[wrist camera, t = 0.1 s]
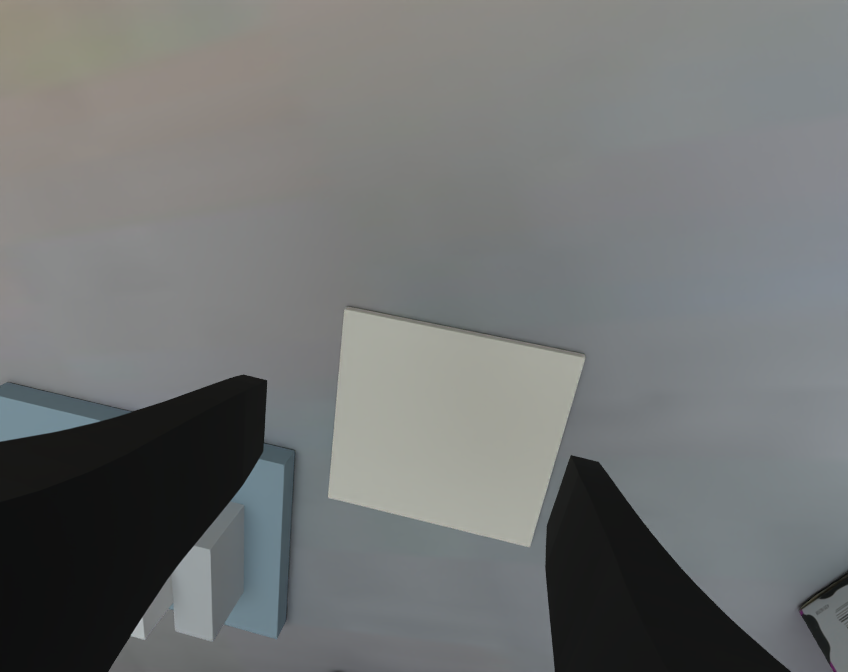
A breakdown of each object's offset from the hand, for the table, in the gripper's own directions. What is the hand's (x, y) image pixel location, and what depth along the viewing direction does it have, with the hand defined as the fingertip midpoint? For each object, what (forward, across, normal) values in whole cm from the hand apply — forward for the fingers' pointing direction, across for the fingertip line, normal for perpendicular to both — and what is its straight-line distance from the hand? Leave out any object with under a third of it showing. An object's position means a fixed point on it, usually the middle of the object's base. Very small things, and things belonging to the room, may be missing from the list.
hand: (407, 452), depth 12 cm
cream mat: (+10, 0, +6) cm, 12 cm away
